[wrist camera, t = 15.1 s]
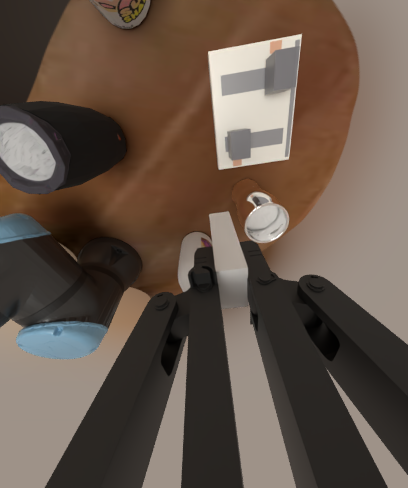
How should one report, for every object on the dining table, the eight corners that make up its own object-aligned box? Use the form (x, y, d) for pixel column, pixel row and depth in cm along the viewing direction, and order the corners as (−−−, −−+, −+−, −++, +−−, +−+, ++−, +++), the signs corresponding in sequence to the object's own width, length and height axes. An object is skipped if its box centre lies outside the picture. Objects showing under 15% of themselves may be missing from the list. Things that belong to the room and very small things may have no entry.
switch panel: (217, 167, 37) (218, 169, 35) (207, 57, 28) (208, 51, 26) (283, 157, 36) (289, 159, 34) (293, 41, 28) (302, 33, 25)
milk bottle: (183, 257, 49) (175, 326, 32) (180, 231, 45) (168, 295, 28) (212, 255, 49) (219, 324, 32) (211, 229, 45) (219, 293, 28)
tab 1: (228, 156, 33) (232, 160, 30) (227, 131, 31) (230, 132, 28) (245, 154, 33) (250, 157, 30) (245, 128, 31) (250, 128, 28)
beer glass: (258, 208, 42) (283, 244, 29) (227, 208, 42) (240, 244, 29) (264, 176, 38) (296, 202, 26) (231, 176, 38) (247, 201, 25)
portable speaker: (130, 117, 32) (59, 109, 16) (129, 172, 37) (74, 209, 21) (77, 102, 31) (-60, 77, 14) (83, 161, 36) (-14, 192, 19)
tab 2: (264, 95, 29) (273, 91, 25) (265, 59, 26) (275, 50, 23) (284, 91, 28) (295, 87, 25) (287, 55, 26) (299, 45, 23)
